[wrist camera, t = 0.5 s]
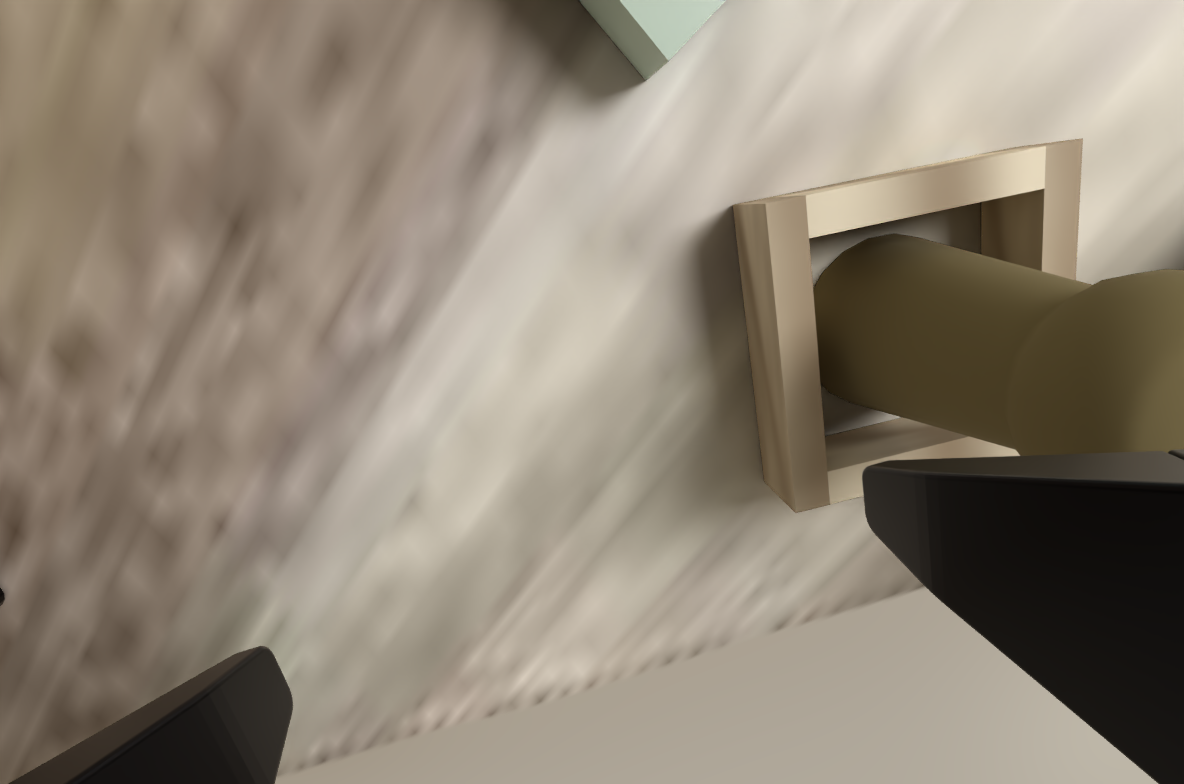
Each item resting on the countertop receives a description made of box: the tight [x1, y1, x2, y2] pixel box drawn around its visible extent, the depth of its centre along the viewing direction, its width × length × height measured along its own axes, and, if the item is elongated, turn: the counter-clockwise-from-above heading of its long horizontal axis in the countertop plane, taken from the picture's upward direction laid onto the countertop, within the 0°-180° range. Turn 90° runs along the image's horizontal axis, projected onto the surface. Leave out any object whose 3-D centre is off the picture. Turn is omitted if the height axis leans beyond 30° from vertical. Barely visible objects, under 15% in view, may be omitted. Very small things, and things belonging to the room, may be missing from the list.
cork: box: [813, 234, 1184, 456], centre depth 16 cm, size 6×6×11 cm
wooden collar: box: [733, 139, 1083, 513], centre depth 20 cm, size 10×10×2 cm
